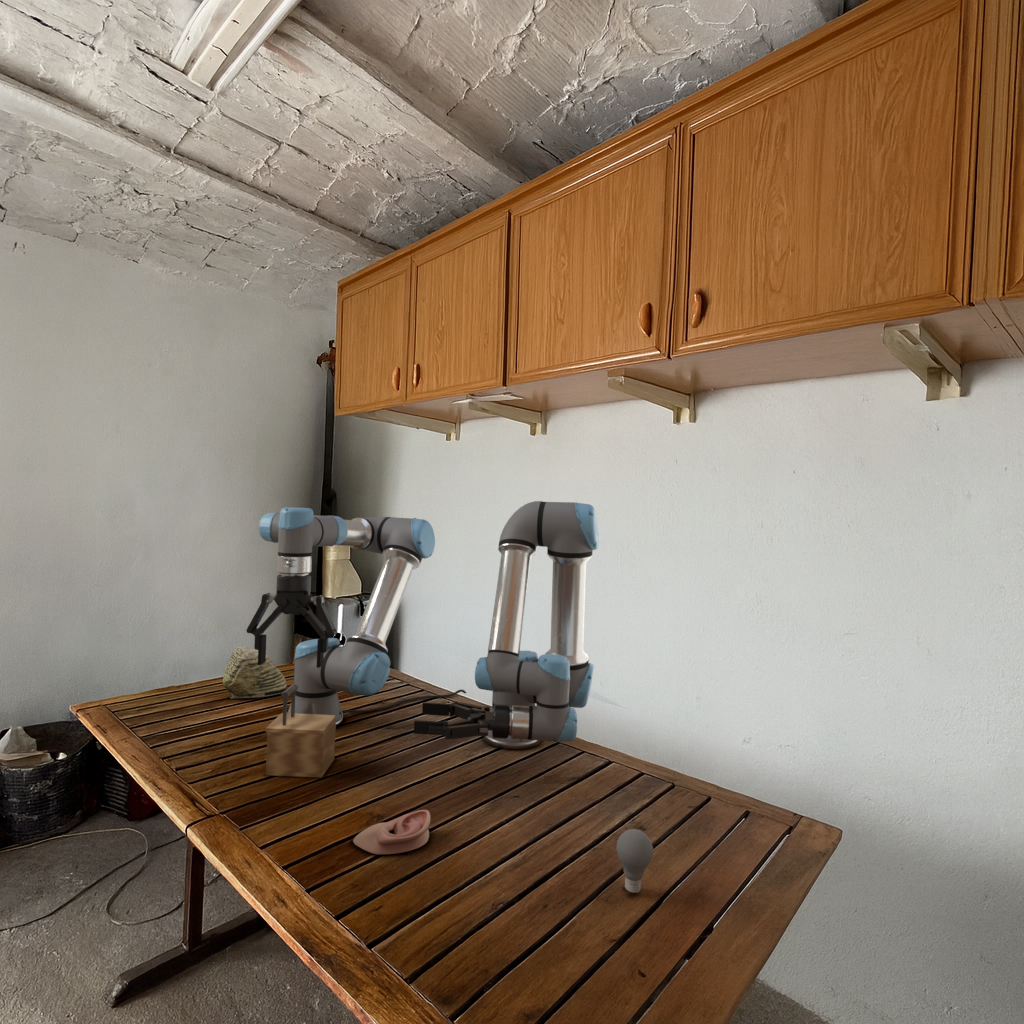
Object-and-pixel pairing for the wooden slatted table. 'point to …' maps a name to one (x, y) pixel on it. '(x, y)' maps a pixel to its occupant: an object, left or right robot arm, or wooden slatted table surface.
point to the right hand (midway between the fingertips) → (418, 717)
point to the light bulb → (634, 857)
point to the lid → (299, 719)
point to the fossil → (252, 675)
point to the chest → (300, 753)
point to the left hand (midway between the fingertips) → (290, 665)
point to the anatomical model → (396, 834)
